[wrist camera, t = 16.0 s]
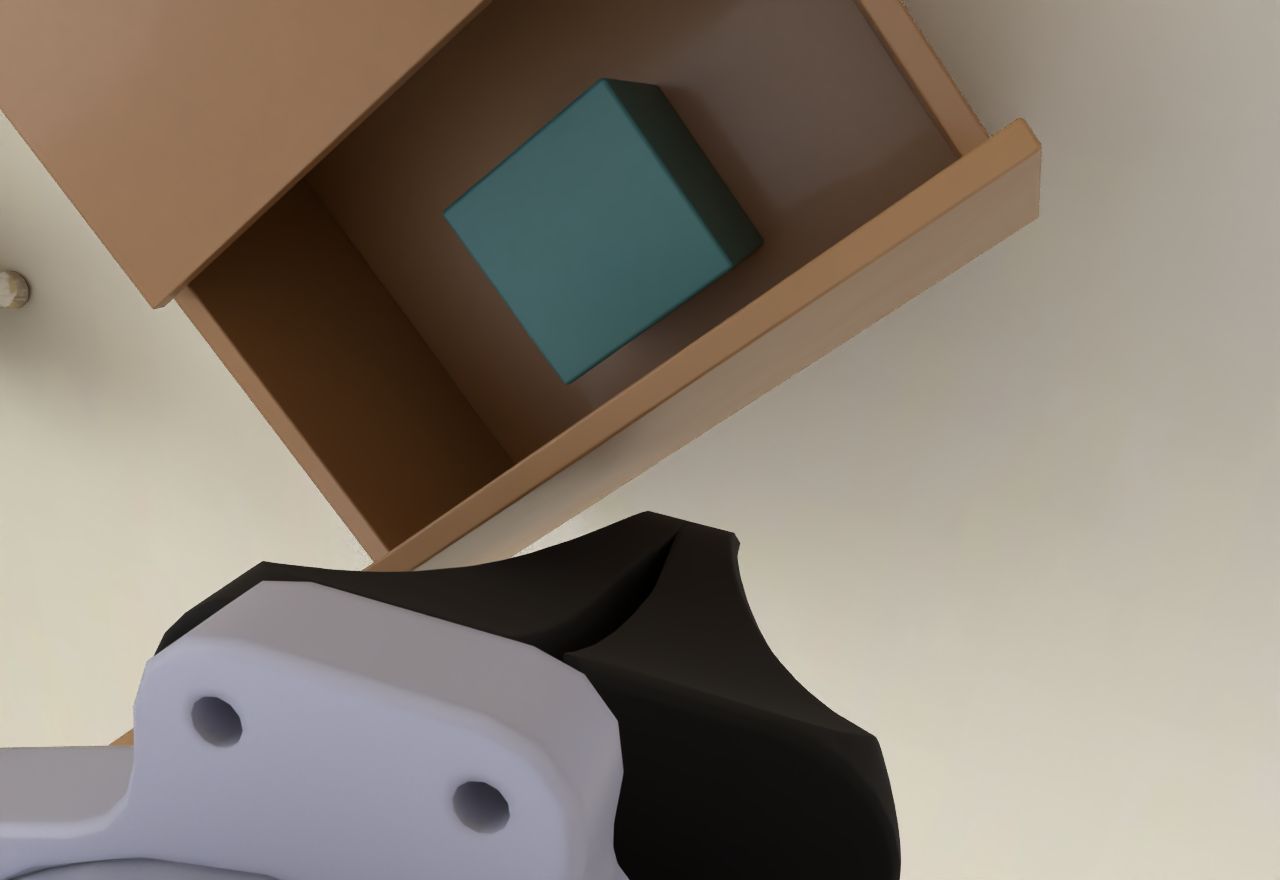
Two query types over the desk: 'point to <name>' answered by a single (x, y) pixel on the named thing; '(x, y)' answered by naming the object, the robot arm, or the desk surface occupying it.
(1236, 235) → the desk surface
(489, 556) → the flap
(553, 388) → the carton
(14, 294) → the bull figurine
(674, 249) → the block
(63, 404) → the desk surface
